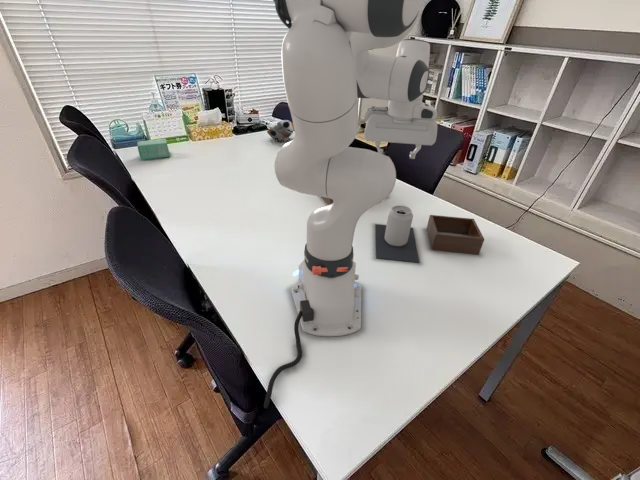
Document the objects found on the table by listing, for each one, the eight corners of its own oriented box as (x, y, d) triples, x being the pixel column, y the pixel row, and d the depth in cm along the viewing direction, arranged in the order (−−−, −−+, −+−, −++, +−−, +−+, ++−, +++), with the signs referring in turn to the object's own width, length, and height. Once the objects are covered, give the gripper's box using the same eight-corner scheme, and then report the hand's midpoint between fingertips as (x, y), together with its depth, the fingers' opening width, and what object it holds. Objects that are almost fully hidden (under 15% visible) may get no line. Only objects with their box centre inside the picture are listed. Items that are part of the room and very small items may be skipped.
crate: (478, 254, 104) (484, 239, 100) (431, 250, 105) (435, 234, 102) (468, 233, 114) (473, 218, 111) (426, 229, 115) (429, 214, 112)
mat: (419, 263, 99) (419, 262, 99) (376, 258, 100) (376, 257, 100) (412, 228, 116) (412, 227, 115) (375, 225, 117) (375, 224, 116)
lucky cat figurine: (281, 134, 204) (291, 114, 196) (291, 146, 200) (302, 126, 192) (262, 131, 193) (273, 110, 185) (273, 144, 188) (284, 123, 181)
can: (382, 245, 105) (388, 212, 99) (385, 233, 111) (390, 201, 105) (406, 249, 104) (413, 216, 97) (407, 237, 110) (414, 205, 103)
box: (140, 155, 165) (136, 140, 161) (169, 152, 171) (166, 138, 166) (140, 160, 160) (136, 145, 156) (170, 157, 165) (167, 142, 161)
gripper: (365, 108, 88) (360, 157, 96) (443, 113, 86) (431, 163, 94) (366, 103, 93) (361, 150, 101) (439, 108, 91) (428, 156, 99)
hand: (395, 157), depth 98 cm, fingers open, 8 cm apart
